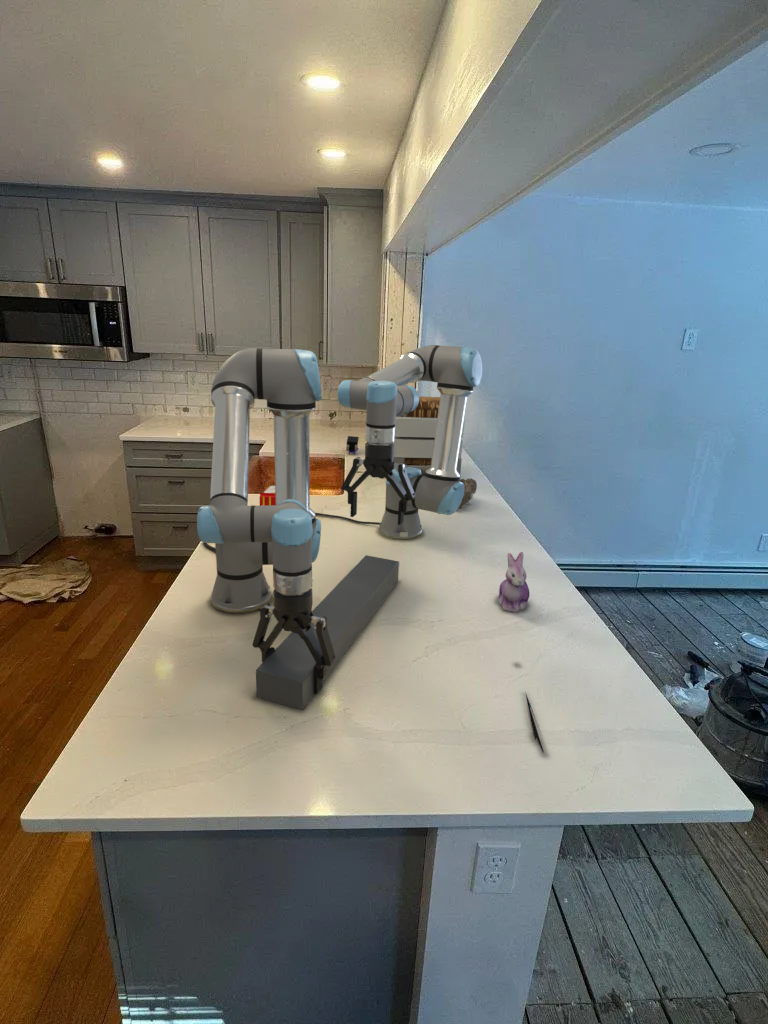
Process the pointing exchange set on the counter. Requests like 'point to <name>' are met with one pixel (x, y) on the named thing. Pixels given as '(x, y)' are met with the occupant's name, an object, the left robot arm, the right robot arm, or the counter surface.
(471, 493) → the fossil
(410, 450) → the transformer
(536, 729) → the feather
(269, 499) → the toy
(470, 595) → the counter surface
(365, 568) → the slab
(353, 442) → the figurine character
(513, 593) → the figurine
